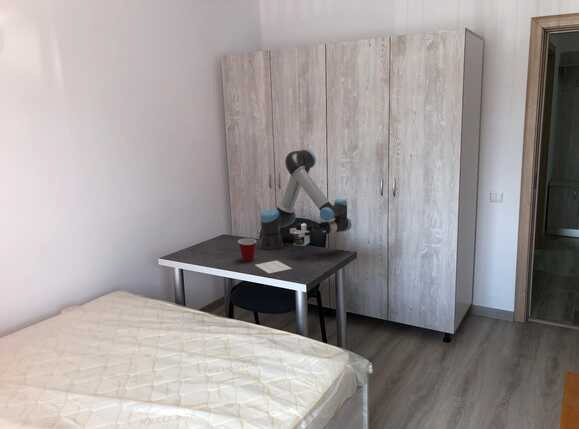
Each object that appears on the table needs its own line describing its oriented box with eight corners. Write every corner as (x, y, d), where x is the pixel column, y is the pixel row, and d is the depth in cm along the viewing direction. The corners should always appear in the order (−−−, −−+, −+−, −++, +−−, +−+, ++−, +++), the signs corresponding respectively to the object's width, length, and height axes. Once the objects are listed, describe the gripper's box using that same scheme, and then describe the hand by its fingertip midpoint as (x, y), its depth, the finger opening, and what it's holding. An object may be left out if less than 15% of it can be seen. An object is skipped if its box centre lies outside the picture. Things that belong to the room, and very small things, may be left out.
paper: (254, 265, 268) (254, 264, 268) (276, 260, 275) (276, 260, 275) (268, 273, 253) (268, 273, 253) (291, 268, 259) (291, 268, 259)
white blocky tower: (293, 244, 273) (292, 224, 271) (298, 241, 280) (298, 221, 277) (304, 246, 270) (303, 225, 268) (309, 242, 276) (309, 222, 274)
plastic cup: (248, 264, 271) (247, 244, 268) (235, 261, 278) (233, 241, 275) (261, 259, 279) (260, 239, 276) (248, 256, 286) (247, 237, 283)
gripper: (338, 237, 273) (304, 243, 263) (317, 229, 292) (285, 235, 282) (338, 224, 271) (304, 230, 261) (317, 218, 290) (285, 223, 280)
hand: (294, 233), depth 271 cm, fingers closed on white blocky tower, 10 cm apart
